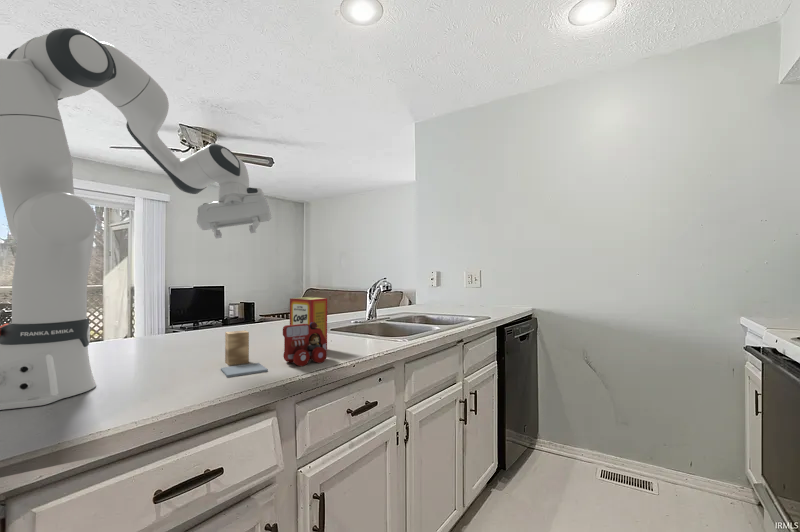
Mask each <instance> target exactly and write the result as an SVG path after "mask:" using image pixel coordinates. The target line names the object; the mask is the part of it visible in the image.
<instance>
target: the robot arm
mask: <svg viewBox="0 0 800 532" xmlns="http://www.w3.org/2000/svg"><path fill="white" fill-rule="evenodd" d="M90 90H94V91H95V92H97V93H99V94H101V95H102V96H103V97H104V98H105V99H106V100H107V101H109V103H111V104H112V106H114V107H115V108H116V109H117V110H119V111H120V113H122V115H123V116H124V118H125V120H126V125H125V126H126V129H127V131H128V132H129V135H130V136H131V137H132V139H134V141H135V142H136V143H137V144H138V145H139V147H141V148H142V149H143V151H144V152H145V153H146V154H147V155H148V156H150V158H151V159H152V160H153V161H154V162H155V163H156V164H157V165H158V166H159V168H161V169H162V170H163V171H164V172H165V173H166V174H167V176H168V177H169V179H170V180H171V181H172V183H173V184H174V186H175V187H176V188H178V189H179V190H180V191H182V192H183V193H187V194H190V195H197V194H199V193H201V192H203V191H204V190H205V189H206V188H207V187H209V186H211V185H213V184H215V183H217V184H218V186H219V188H218V201H212V202H205V203H202V204H201V205H199V206H198V207H197V216H196V223H197V226H198V227H199V229H201V230H202V231H209V230H212V232H213V233H214V234H213V235H214V238H215V239H221V238H222V232H221V229H223V228H228V227H229V228H230V227H237V226H243V225H248V227H249V228H248V229H249V233H250V234H256V233H257V228H258V227H259V226H260V224H261V223H265V222H266V223H267V222H269V221H271V220H272V218H273V217H272V213H271V212H272V211H271V210H270V206H269V203H268V200H267V198H266V197H265V194H264V192H263V190H262V189H261V188H260V187H251V186H250V177H249V172H248V169H247V167H246V164H245V163H244V161H243V160H242V159H241V158H239V157H237V156H236V154H234V153H233V152H232V151H231V150H230V149H228V148H227V147H225V146H223V145H221V144H219V143H210V144H208V145H206V146H204V147H202V148H200V149H199V150H197V151H196V152H194V153H192V154H190V155H189V156H187V157H185V158H179V157H177V156H176V155H175V154H174V153H173V152H172V150H171V149H170V148H169V147H168V146H167V145H166V143H164V141H163V140H162V139H161V138H160V137H159V134H158V132H159V131H160V129H161V127H162V126H163V124H164V123H165V121H166V119H167V115H168V113H169V107H170V104H169V99H168V96H167V94H166V92H165V90H164V89H163V88H162V87H161V86H160V84H159V83H158V82H157V81H156V80H155V79H154V78H153V77H152V76H151V75H149V74H148V73H147V72H146V71H145V70H144V69H143V68H142V66H140V65H139V64H137V62H135V61H134V60H132V58H130V57H129V56H128V55H126V54H125V53H123V52H122V51H121V50H120V49H118V48H117V47H115V46H114V45H112V44H110V43H108V42H105V41H100V40H98V39H97V38H95V37H94V36H92V35H91V34H90V33H87V32H86V31H83V30H81V29H78V28H72V27H64V28H58V29H54V30H52V31H51V32H49V33H45V34H43V35H39V36H36V37H33V38H30V39H29V40H27V41H26V42H25V43H23V44H22V45H20V46H19V47H16V48H14V49H13V50H12V51H10V53H9V54H8V55H7V57H6V58H0V193H1V197H2V203H3V207H4V211H5V217H6V222H7V225H8V228H9V229H8V230H9V232H10V234H11V236H12V237H13V239H14V240H15V241H16V249H15V250H16V251H15V257H14V258H15V261H14V269H13V275H12V280H11V322H10V323H4V324H2V325H0V411H1V410H3V411H4V410H11V409H20V408H30V407H38V406H39V407H40V406H44V405H49V404H51V403H54V402H56V401H59V400H63V399H65V398H69V397H72V396H76V395H79V394H82V393H85V392H89V391H90V390H92V389H95V387H96V386H97V383H96V380H95V378H94V375H93V371H92V367H91V362H90V356H89V348H88V346H89V345H90V343H91V324H90V319H89V318H88V315H87V312H88V311H87V310H88V278H89V272H90V271H89V270H90V266H91V260H92V253H93V248H94V238H95V231H96V227H97V215H96V212H95V211H94V208H92V206H91V205H90V203H88V201H86V200H85V199H83V198H81V197H79V196H78V195H75V190H74V178H73V177H74V176H73V168H74V167H73V160H72V159H73V158H72V155H71V151H70V147H69V144H68V143H69V142H68V139H67V135H66V131H65V128H64V123H63V119H62V116H61V113H60V110H59V109H60V108H59V104H58V103H59V101H61V100H63V99H65V98H70V97H74V96H75V97H76V96H79V95H82V94H84V93H86V92H88V91H90ZM250 224H251V225H250Z"/></svg>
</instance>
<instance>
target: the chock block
mask: <svg viewBox="0 0 800 532" xmlns="http://www.w3.org/2000/svg"><path fill="white" fill-rule="evenodd" d="M224 334H225V336H224V337H225V338H224V339H225V341H224V343H225V345H224V346H225V348H224V349H225V350H224V351H225V352H224V353H225V354H224V356H225V358H224V362H225V364H227V366H237V365H244V364H248V363H249V364H250V361H249V360H250V359H249V358H250V354H249V353H250V350H249V349H250V332H249V331H247V330H233V331H225V333H224Z"/></svg>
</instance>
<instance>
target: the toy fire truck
mask: <svg viewBox="0 0 800 532" xmlns="http://www.w3.org/2000/svg"><path fill="white" fill-rule="evenodd" d="M316 327H317V324H316V323H315V322H311V323H310V325H308V324H297V325H290V324H287V325H284V326H283V328H282V336H283V339H284V346H283V347H284V348H283V349H284V352H283V359H284V361H285V362H287V363H289V364H293V363H294V364H295V365H296V366H299V367H304V366H306V365H307V364H308V363H309V361H310V360H312V361H313V363H318V364H321V363H324V362H325V360H326V358H327V356H328V354H327V350H328V340H327V341H326V339H325V337H324V335H323V332H322V330H321V329H320V328H316ZM315 333H316V334H317V335H316V334H315ZM318 343H319V344H318ZM309 344H310V345H309Z"/></svg>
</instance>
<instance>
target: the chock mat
mask: <svg viewBox="0 0 800 532" xmlns="http://www.w3.org/2000/svg"><path fill="white" fill-rule="evenodd" d="M220 371H221V372H222V373H223V374H224V375H225V377H226V378H231V377H232V378H233V377H239V376H245V375H252V374H259V373H267V372H268V371H269V370H268V368H266V366H264V365H262V364H261V363H260V362H255V363H249V364H248V363H245V364H238V365H230V366H225V367H220Z"/></svg>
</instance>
